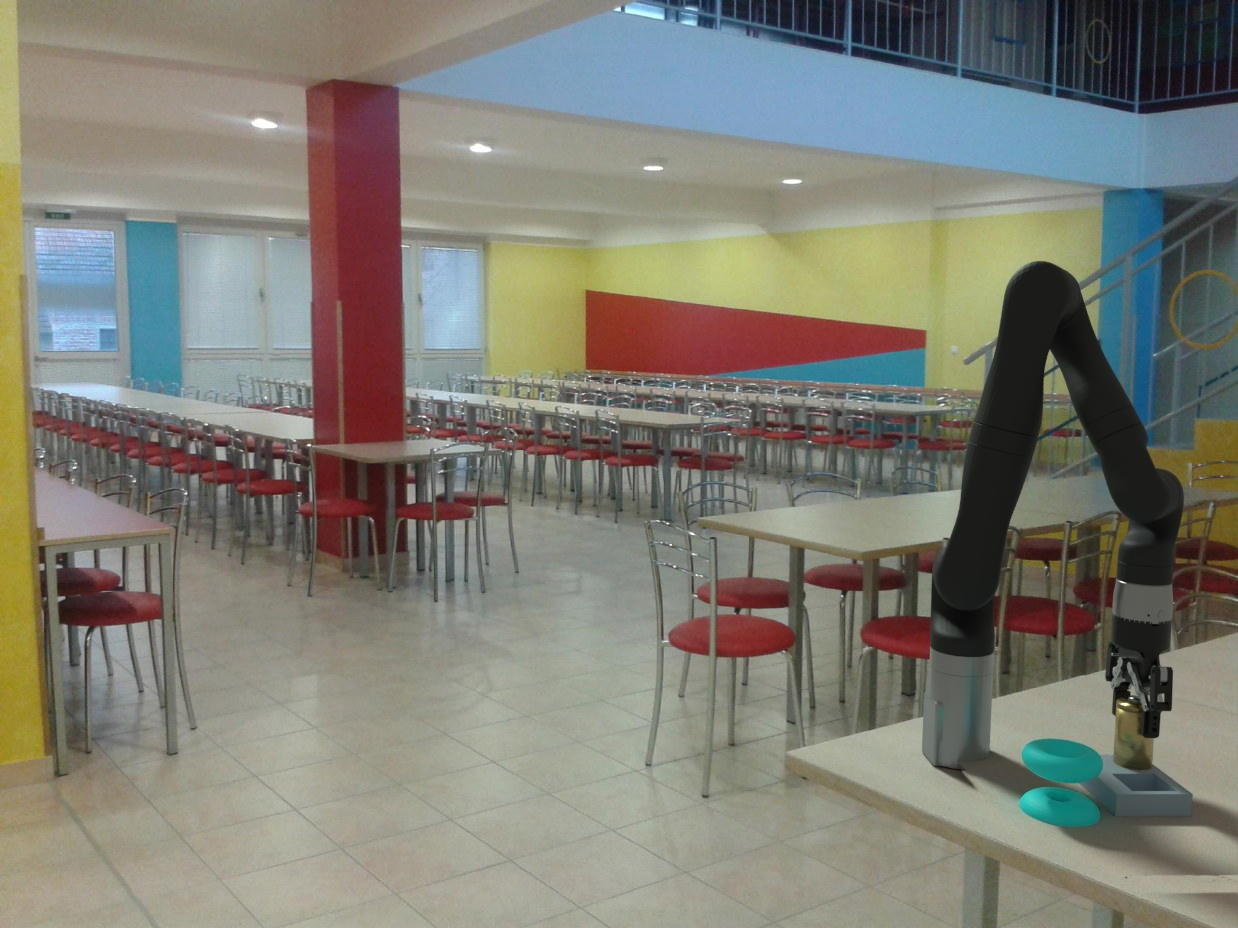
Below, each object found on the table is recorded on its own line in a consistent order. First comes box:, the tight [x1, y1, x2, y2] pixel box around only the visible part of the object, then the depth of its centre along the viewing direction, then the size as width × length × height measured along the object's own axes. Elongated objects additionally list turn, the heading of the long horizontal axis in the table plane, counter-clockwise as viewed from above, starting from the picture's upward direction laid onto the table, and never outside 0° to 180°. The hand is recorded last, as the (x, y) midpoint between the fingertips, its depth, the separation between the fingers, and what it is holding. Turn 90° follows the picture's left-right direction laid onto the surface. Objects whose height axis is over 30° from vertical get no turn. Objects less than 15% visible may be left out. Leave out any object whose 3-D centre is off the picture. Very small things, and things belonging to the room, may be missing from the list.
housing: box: [1078, 754, 1194, 818], centre depth 152 cm, size 10×14×4 cm
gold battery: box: [1112, 694, 1155, 770], centre depth 155 cm, size 5×5×10 cm
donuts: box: [1018, 738, 1103, 828], centre depth 146 cm, size 10×10×10 cm
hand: (1134, 726), depth 154 cm, fingers open, 8 cm apart
